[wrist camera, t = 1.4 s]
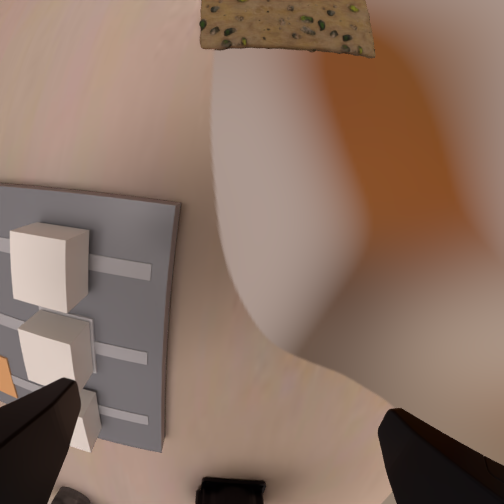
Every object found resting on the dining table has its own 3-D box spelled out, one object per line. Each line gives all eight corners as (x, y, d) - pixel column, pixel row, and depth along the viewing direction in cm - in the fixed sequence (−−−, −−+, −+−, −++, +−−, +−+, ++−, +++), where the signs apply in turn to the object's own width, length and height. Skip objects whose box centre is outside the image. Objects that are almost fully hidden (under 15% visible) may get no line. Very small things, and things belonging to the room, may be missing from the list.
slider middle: (89, 322, 18) (70, 344, 15) (93, 371, 19) (77, 396, 16) (40, 309, 17) (17, 328, 14) (46, 357, 18) (28, 379, 15)
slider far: (95, 392, 19) (82, 417, 16) (101, 427, 20) (91, 452, 17) (50, 378, 19) (34, 401, 16) (59, 414, 19) (46, 437, 17)
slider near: (89, 230, 16) (65, 240, 13) (88, 293, 17) (67, 313, 14) (37, 222, 16) (9, 230, 13) (38, 282, 17) (13, 298, 14)
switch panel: (181, 202, 19) (175, 206, 17) (164, 436, 23) (161, 454, 21) (-37, 180, 17) (-53, 182, 14) (-12, 380, 21) (-22, 390, 19)
